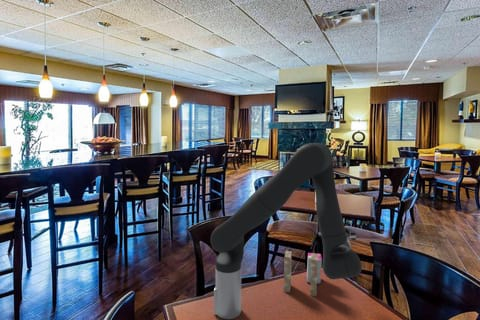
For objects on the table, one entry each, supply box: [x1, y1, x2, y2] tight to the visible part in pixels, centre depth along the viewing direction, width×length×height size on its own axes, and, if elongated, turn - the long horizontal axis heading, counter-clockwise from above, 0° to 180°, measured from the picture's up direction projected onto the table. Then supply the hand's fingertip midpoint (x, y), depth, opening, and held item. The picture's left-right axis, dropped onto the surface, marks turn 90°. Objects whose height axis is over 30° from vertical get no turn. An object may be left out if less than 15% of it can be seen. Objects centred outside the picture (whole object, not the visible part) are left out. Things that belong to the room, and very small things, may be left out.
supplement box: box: [306, 252, 323, 285], centre depth 132 cm, size 6×6×12 cm
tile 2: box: [309, 252, 319, 297], centre depth 123 cm, size 2×6×15 cm, turn 166°
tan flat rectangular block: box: [283, 250, 293, 293], centre depth 126 cm, size 2×6×15 cm, turn 166°
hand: (335, 226), depth 119 cm, fingers closed
